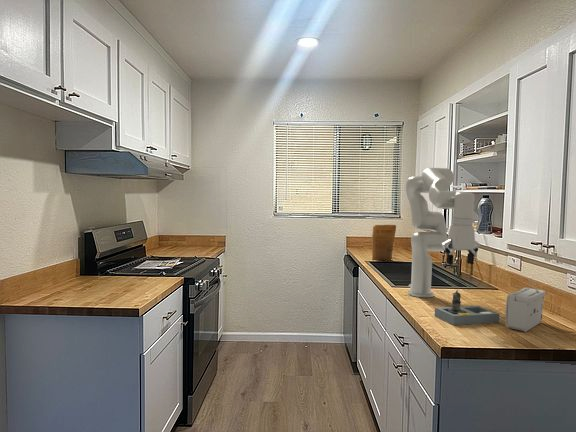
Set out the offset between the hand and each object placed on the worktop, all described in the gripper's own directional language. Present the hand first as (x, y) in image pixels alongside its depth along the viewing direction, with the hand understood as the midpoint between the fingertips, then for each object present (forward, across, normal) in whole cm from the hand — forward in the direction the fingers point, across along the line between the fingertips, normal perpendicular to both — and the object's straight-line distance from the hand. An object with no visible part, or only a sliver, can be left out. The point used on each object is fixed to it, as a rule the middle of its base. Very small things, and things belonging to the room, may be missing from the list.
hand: (459, 263), depth 167 cm
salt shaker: (+22, +4, +5) cm, 23 cm away
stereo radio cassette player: (+22, -19, +16) cm, 33 cm away
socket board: (+22, -1, +5) cm, 22 cm away
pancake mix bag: (+26, -38, -141) cm, 148 cm away
